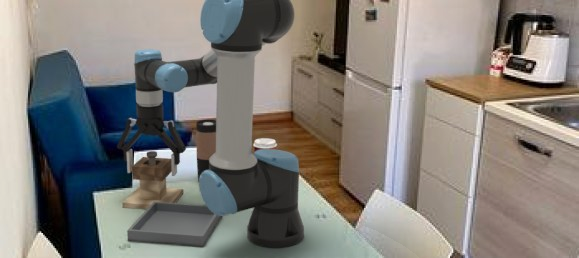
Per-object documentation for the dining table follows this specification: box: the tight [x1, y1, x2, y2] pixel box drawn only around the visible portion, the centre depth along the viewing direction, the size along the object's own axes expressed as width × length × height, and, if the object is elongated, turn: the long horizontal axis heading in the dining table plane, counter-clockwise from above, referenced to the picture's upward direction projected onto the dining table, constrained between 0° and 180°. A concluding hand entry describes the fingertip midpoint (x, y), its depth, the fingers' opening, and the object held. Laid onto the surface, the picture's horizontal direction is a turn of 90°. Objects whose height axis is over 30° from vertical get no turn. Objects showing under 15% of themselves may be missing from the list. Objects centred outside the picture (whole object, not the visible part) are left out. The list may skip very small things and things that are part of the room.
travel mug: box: [195, 118, 216, 183], centre depth 205 cm, size 8×8×20 cm
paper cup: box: [252, 137, 278, 152], centre depth 207 cm, size 8×8×14 cm
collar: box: [131, 156, 172, 181], centre depth 189 cm, size 9×9×4 cm
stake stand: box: [121, 150, 184, 210], centre depth 189 cm, size 14×14×15 cm
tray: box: [126, 202, 223, 248], centre depth 172 cm, size 20×20×3 cm
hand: (152, 173), depth 189 cm, fingers open, 13 cm apart
